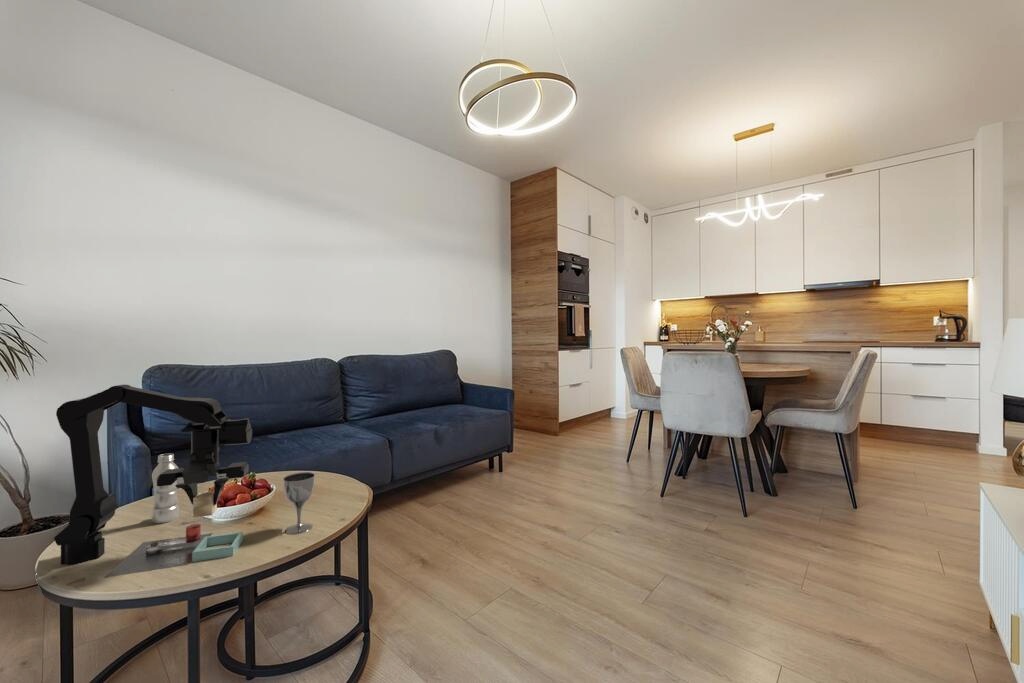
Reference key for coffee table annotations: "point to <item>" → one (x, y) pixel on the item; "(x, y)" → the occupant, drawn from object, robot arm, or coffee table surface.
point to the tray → (213, 553)
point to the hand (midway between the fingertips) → (205, 505)
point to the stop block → (204, 504)
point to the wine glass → (298, 497)
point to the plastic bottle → (164, 493)
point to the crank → (191, 537)
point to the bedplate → (156, 558)
